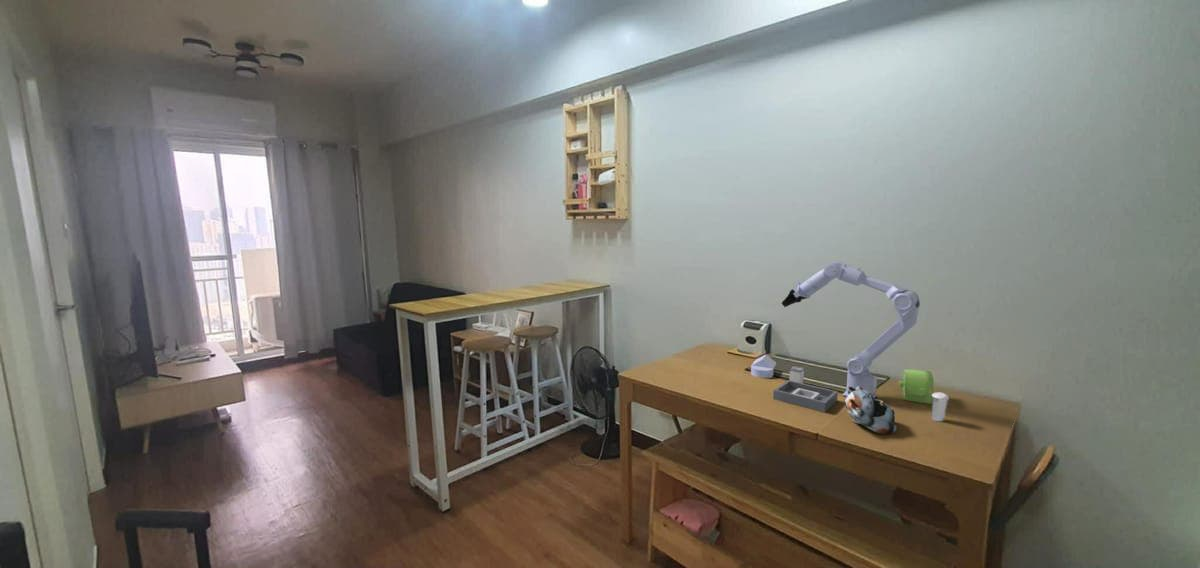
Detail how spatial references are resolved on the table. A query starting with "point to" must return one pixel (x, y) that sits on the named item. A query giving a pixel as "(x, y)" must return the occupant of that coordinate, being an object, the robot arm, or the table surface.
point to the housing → (805, 395)
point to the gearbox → (917, 386)
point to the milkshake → (939, 406)
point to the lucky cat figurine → (870, 411)
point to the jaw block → (796, 374)
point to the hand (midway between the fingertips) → (786, 303)
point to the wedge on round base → (763, 367)
